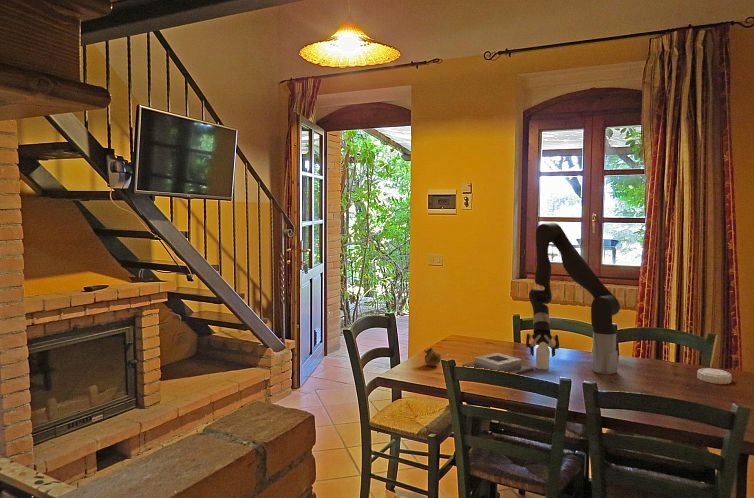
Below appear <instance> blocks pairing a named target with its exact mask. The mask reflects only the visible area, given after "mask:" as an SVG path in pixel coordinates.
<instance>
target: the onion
mask: <svg viewBox="0 0 754 498" xmlns="http://www.w3.org/2000/svg"><path fill="white" fill-rule="evenodd" d="M423 352H424V353H425V354H426V355H424V363H425V364H426V365H427V366H428V367H436V366H438V365H439V363H440V362H441V361H442V356H441V354H439V353H438V352H437V351H435V350H433V348H432V347H430V348H428V349H423Z"/></svg>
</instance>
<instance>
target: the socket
mask: <svg viewBox="0 0 754 498" xmlns="http://www.w3.org/2000/svg"><path fill="white" fill-rule="evenodd" d="M473 360H474V361H473V362H468V363H465V364H461V365H462V366H467V367H474V368H484V369H490V370H497V371H504V372H508V373H516V374H517V375H520V374H519V373H521V374H523V373H528V372H531V371H534V370H535V368H534V367H532V366H528V365H525V364H522V359H521V358H519V357H514V356H510V355H506V354H503V353H500V352H493V353H490V354H483V355H480V356H476V357H474V359H473Z"/></svg>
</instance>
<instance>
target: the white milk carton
mask: <svg viewBox="0 0 754 498" xmlns="http://www.w3.org/2000/svg"><path fill="white" fill-rule="evenodd" d="M550 353H551V352H550V347H549V346H548V345H547V344H546V343H545V342H541V343H540V344H538V346H537V347H536V349H535V369H539V370H548V369H550Z"/></svg>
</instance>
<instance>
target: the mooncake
mask: <svg viewBox="0 0 754 498" xmlns="http://www.w3.org/2000/svg"><path fill="white" fill-rule="evenodd" d="M696 377H697V379H699V380H700V381H703V382H708V383H711V384H719V385H721V384H722V385H724V384H725V385H727V384H730V383H732V374H731V373H730V372H728V371H726V370H722V369H719V368H710V367H707V368H706V367H705V368H700V369H698V370H697V376H696Z"/></svg>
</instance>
